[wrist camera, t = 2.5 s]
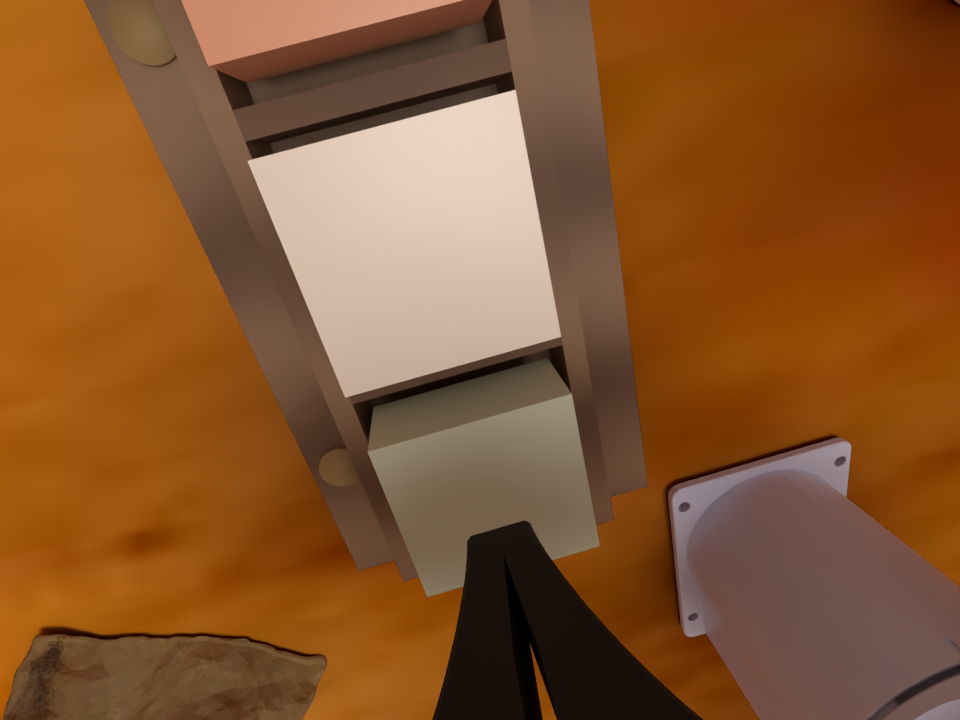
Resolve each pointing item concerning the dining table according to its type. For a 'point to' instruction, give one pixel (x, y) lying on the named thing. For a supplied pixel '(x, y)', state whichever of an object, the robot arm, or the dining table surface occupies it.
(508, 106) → the cream key
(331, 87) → the brown flat tray
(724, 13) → the dining table surface
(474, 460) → the sage key
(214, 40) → the terracotta key
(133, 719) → the rock
